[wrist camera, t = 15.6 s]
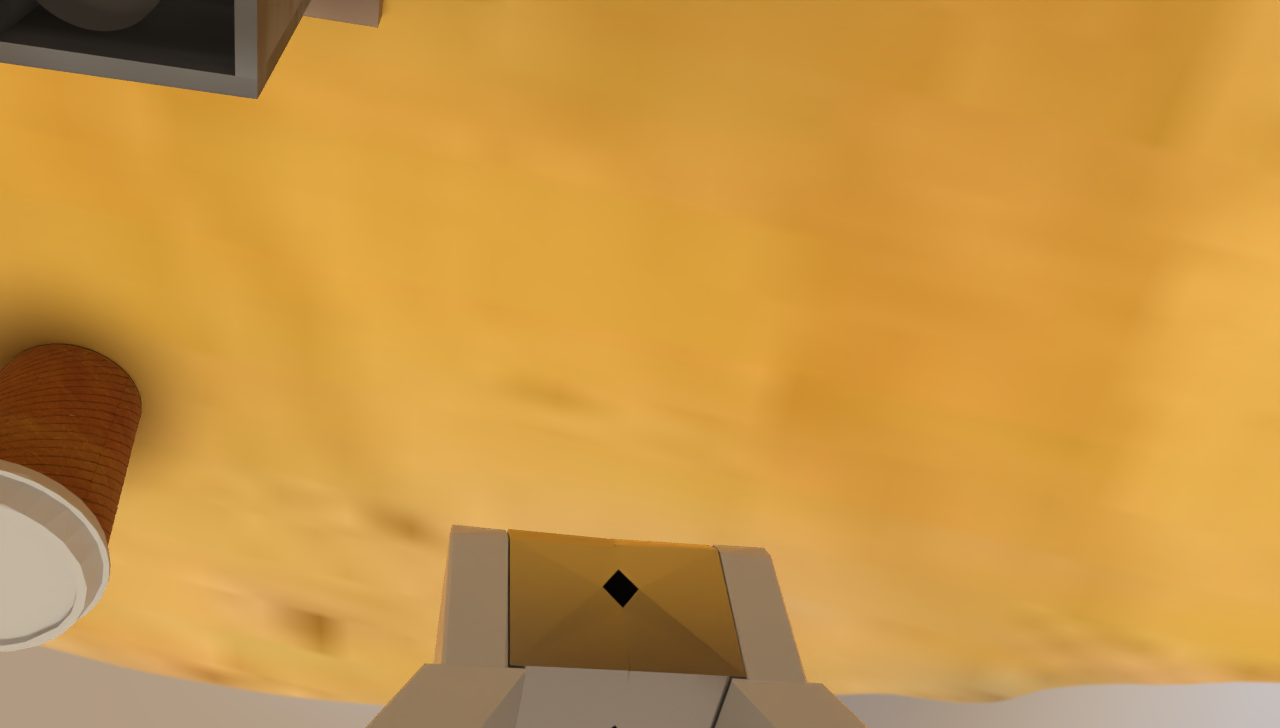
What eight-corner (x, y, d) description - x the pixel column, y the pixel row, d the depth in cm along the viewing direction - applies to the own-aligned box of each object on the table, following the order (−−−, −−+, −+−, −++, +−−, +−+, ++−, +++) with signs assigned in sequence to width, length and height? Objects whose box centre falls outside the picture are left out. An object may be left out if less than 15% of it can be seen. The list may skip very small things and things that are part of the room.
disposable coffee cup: (214, 385, 52) (145, 561, 43) (115, 502, 56) (30, 689, 46) (22, 276, 48) (-105, 443, 38) (-72, 409, 52) (-210, 594, 42)
